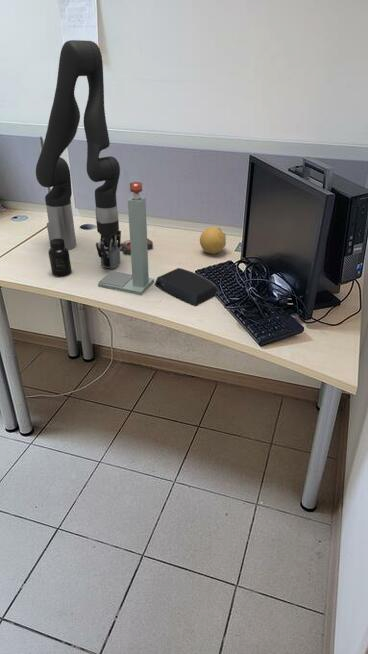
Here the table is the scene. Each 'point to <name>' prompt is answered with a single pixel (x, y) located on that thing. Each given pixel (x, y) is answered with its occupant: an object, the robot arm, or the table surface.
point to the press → (133, 254)
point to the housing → (112, 257)
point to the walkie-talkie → (127, 249)
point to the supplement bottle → (59, 258)
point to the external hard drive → (186, 286)
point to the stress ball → (212, 240)
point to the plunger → (136, 189)
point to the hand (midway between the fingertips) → (110, 263)
